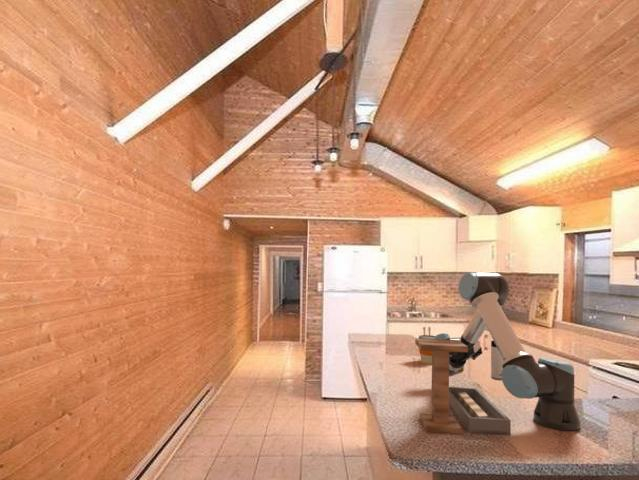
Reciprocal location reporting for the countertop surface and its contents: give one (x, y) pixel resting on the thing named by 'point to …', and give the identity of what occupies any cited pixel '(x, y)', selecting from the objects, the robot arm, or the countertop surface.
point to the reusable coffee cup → (426, 355)
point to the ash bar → (471, 406)
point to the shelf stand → (440, 385)
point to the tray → (490, 425)
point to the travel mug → (496, 362)
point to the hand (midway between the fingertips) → (469, 343)
